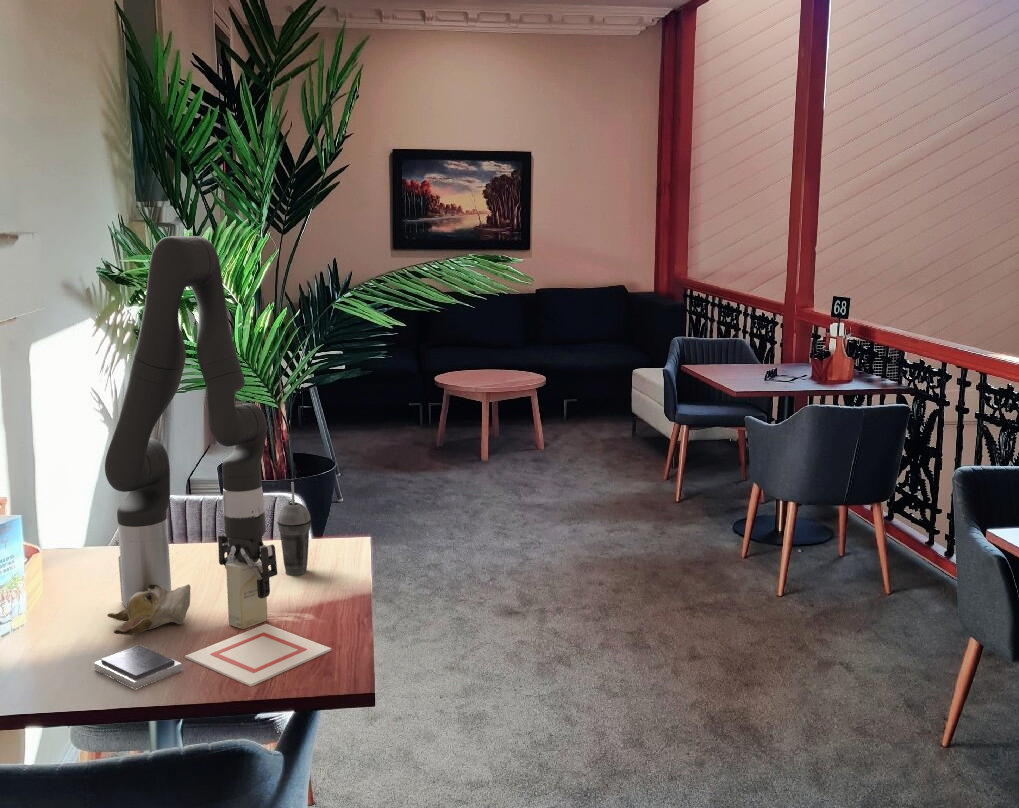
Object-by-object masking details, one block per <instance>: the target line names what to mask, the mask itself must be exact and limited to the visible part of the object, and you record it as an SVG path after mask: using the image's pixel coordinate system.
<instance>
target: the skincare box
mask: <svg viewBox="0 0 1019 808" xmlns="http://www.w3.org/2000/svg"><path fill="white" fill-rule="evenodd" d="M258 562H261V560H260V558H259V560H258V561H257V562H255V563H258ZM259 569H260V571H261V573H262V572H263V570H262V568H261V567H260V568H259ZM225 570H226V587H227V592H226V593H227V610H228V612H227V613H228V625H229V626H233V627H236V628H239V629H241V630H244V629H249V628H251V627H253V626H255V625H258V624H261V623H264V622H267V621H268V600H267V599H268V597H265V598H262V599H261V598H259V597H258V591H257V579H258V578H257V576H256V574H255V572H254V571H253V570H251V569H250V567H249V565H248V564H245V563H244V562H238V560H237V561H235V562H231V563H228V564H226V568H225Z"/></svg>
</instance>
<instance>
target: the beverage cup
mask: <svg viewBox="0 0 1019 808" xmlns="http://www.w3.org/2000/svg"><path fill="white" fill-rule="evenodd" d="M290 485H291V502H290V503H287V504H285V505H284V506H283V507H282V508H280V511H279V513H278V516H277V521H276V524H277V528H278V531H279V534H280V543H281V544H280V545H281V551H282V560H283V565H284V570H285V574H286V575H287V576H293V577H295V576H298V577H299V576H302V575H305V574H306V573H307V572H308V571H307V569H308V563H309V562H308V559H309V542H310V541H309V539H310V530H311V524H312V523H311V522H312V519H311V514H310V511H309V510H308V509H307V507H306V506H305V505H304V504H302V503H299V502H296V501H295V484H294V481H291V484H290Z"/></svg>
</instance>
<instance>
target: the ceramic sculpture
mask: <svg viewBox="0 0 1019 808" xmlns="http://www.w3.org/2000/svg"><path fill="white" fill-rule="evenodd" d="M190 605H191V585H190V584H186V585H184V586H180V587H177V588H175V589H173V590H172V589H171V591H167V590H165V589H164V588H163V587H162V586H158V585H153V584H151V585H149V588H148V590H144V591H142V592H137V593H135V594H134V595H133V596H132V597H131V598H130V599H129V601H128V603H127V608H126V607H125V609H123V610H121V611H119V612H117V613H115V612H113V613H112V612H110V613H108V614H107V617H108V618H111V619H113V620H116V621H121V622H123V623H122V625H121V626H120V627H119V628H117V629H116V630H114V631H113V634H116V635H125V636H129V635H130V636H132V635H134V636H135V635H138V634H141V633H142V632H144V631H149V630H153V629H155V628H157V627H160V626H162V625H165V624H168V623H175V624H177V625H182V624H183V623H184V621H185V619H186V615H187V612H188V610H189V607H190Z"/></svg>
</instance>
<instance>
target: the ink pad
mask: <svg viewBox="0 0 1019 808" xmlns="http://www.w3.org/2000/svg"><path fill="white" fill-rule="evenodd" d="M93 666H94V670H95V669H96V670H98V671H100V672H102V673H104V674H106V675H108V676H111V677H112V678H114V679H116V680H118V681H120V682H122V683H124V684H126V685H128V686H130V687H133V688H134V689H136V688H139V687H141V686H144V685H146V684H149V683H151V682H154V681H156V682H158V681H157V680H159V681H161V680H163V678H164V679H166V678H168V677H171V676H174V675H176V674H178V673H180V672H182V671H183V669H182V668H183V666H182V662H179V661H177V660H175V659H174V658H173V659H172V658H170V657H168V656H167V655H163V654H161V653H159V652H157V651H155V650H152V649H150V648H148V647H145V646H143V645H141V644H137V645H135V646H133V647H130V648H126V649H124V650H122V651H119V652H116V653H114V654H111V655H108V656H106V657H103V658H100V660H97V661H95V662H94V665H93ZM100 672H99V673H100ZM102 673H101V674H102ZM104 674H103V675H104ZM106 675H105V676H106ZM108 676H107V677H108ZM165 677H166V678H165ZM112 678H111V679H112ZM114 679H113V680H114ZM160 679H161V680H160ZM116 680H115V681H116ZM118 681H117V682H118ZM120 682H119V683H120ZM122 683H121V684H122ZM154 683H155V682H154ZM124 684H123V685H124ZM151 684H152V683H151ZM126 685H125V686H126ZM149 685H150V684H149ZM128 686H127V687H128ZM146 686H147V685H146ZM130 687H129V688H130ZM144 687H145V686H144ZM141 688H142V687H141ZM134 689H133V690H134ZM139 689H140V688H139Z"/></svg>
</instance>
